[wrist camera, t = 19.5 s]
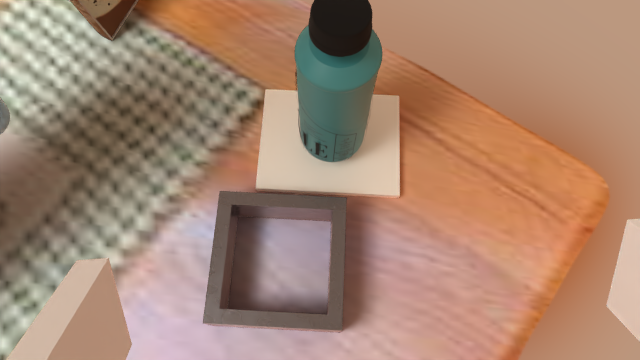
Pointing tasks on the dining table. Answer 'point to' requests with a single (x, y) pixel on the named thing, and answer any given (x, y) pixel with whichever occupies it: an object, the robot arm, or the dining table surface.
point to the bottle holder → (224, 248)
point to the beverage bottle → (336, 77)
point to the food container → (105, 14)
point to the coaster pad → (328, 177)
